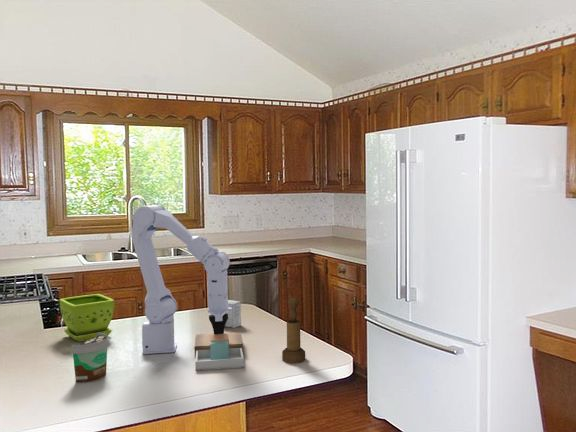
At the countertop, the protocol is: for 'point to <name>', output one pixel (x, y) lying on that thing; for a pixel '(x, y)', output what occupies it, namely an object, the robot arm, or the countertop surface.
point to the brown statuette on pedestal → (293, 336)
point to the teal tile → (219, 350)
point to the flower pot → (87, 315)
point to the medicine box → (234, 314)
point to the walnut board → (204, 341)
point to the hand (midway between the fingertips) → (218, 339)
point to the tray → (206, 363)
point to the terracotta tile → (219, 338)
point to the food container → (91, 358)
